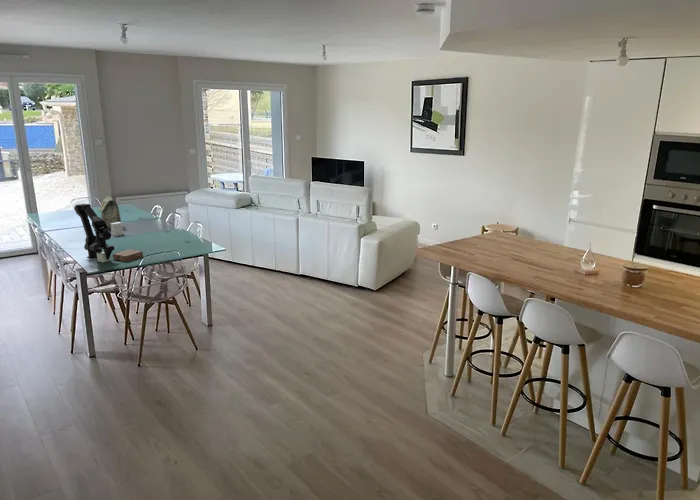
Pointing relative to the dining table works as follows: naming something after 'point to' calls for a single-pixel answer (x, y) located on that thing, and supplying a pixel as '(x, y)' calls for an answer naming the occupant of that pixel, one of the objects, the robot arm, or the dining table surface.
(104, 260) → the sage cube
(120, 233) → the small box
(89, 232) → the robot arm
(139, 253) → the walnut block
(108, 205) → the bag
